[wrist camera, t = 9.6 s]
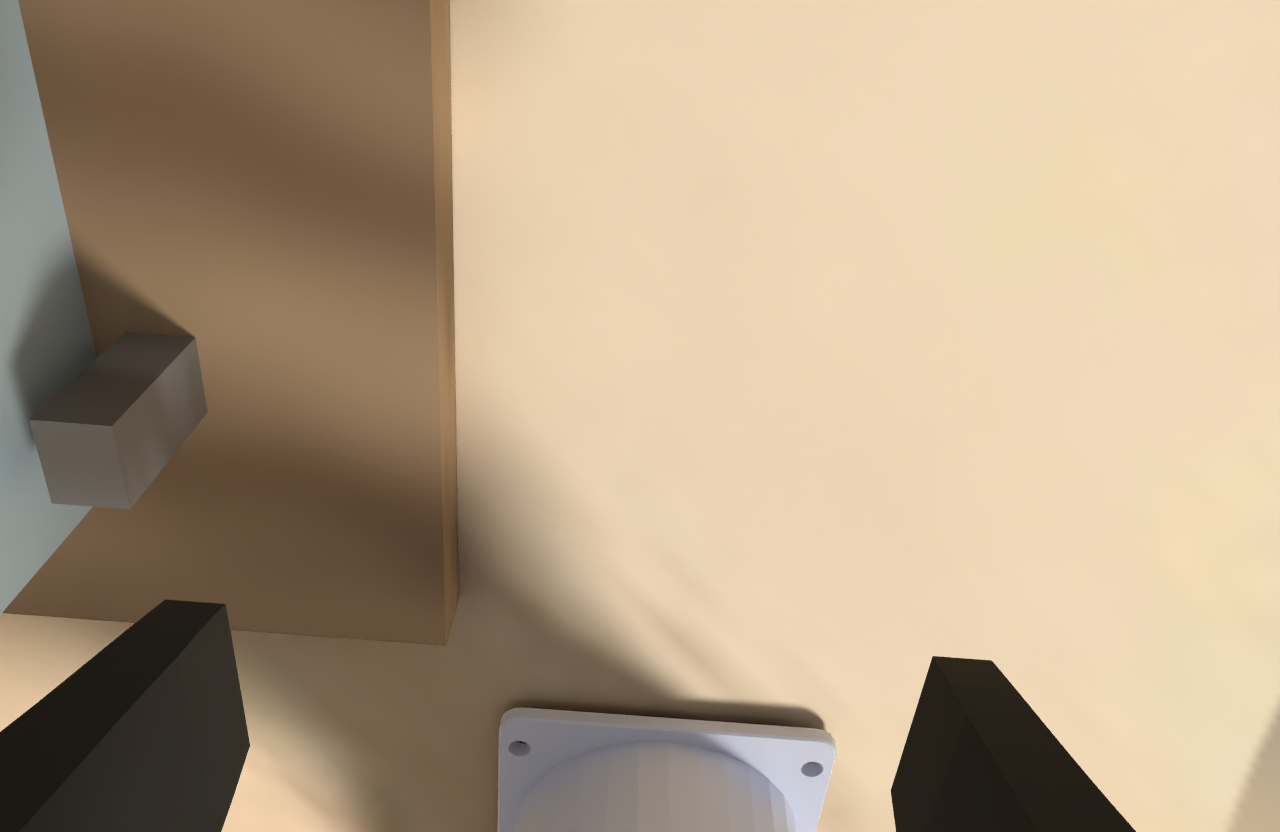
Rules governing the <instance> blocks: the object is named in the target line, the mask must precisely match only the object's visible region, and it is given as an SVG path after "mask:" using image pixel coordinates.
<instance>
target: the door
mask: <svg viewBox="0 0 1280 832" xmlns="http://www.w3.org/2000/svg"><path fill="white" fill-rule="evenodd" d="M96 358H97V356H96V351H95V347H94V342H93V338H92V333H91V328H90V324H89V319H88V315H87V310H86V306H85V301H84V297H83V292H82V288H81V283H80V279H79V274H78V270H77V265H76V260H75V256H74V251H73V247H72V242H71V238H70V233H69V229H68V224H67V220H66V215H65V211H64V206H63V202H62V197H61V192H60V188H59V183H58V179H57V174H56V170H55V165H54V161H53V156H52V152H51V147H50V143H49V138H48V134H47V129H46V124H45V120H44V115H43V111H42V106H41V102H40V97H39V93H38V88H37V84H36V79H35V75H34V70H33V66H32V61H31V57H30V52H29V47H28V43H27V38H26V34H25V29H24V25H23V20H22V16H21V11H20V7H19V2H18V0H0V615H1V613H2V612H3V611H4V610H5V609H6V608H7V606H8V605H9V604H10V603H11V602H12V601H13V599H14V598H15V597H16V596H17V595H18V594H19V592H20V591H21V590H22V589H23V588H24V587H25V585H26V584H27V583H28V582H29V581H30V580H31V578H32V577H33V576H34V575H35V574H36V573H37V571H38V570H39V569H40V568H41V567H42V566H43V564H44V563H45V562H46V561H47V560H48V559H49V557H50V556H51V555H52V554H53V553H54V552H55V550H56V549H57V548H58V547H59V546H60V545H61V543H62V542H63V541H64V540H65V539H66V538H67V536H68V535H69V534H70V533H71V532H72V531H73V529H74V528H75V527H76V526H77V525H78V524H79V523H80V521H81V520H82V519H83V518H84V517H85V516H86V514H87V513H88V512H89V511H90V510H91V509H92V506H79V505H65V504H52V503H51V499H50V496H49V492H48V488H47V485H46V481H45V477H44V473H43V470H42V466H41V462H40V459H39V455H38V451H37V447H36V444H35V440H34V436H33V433H32V429H31V425H30V421H29V419H30V418H32V417H33V416H34V415H35V414H36V413H37V412H38V411H39V410H40V409H41V408H43V407H44V406H45V405H46V404H47V403H48V402H49V401H50V400H51V399H52V398H54V397H55V396H56V395H57V394H58V393H59V392H60V391H61V390H62V389H63V388H64V387H66V386H67V385H68V384H69V383H70V382H71V381H72V380H73V379H74V378H75V377H77V376H78V375H79V374H80V373H81V372H82V371H83V370H84V369H85V368H86V367H88V366H89V365H90V364H91V363H92V362H93V361H94V360H95V359H96Z"/></svg>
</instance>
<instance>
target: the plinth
mask: <svg viewBox="0 0 1280 832" xmlns="http://www.w3.org/2000/svg"><path fill="white" fill-rule="evenodd" d="M18 2H19V7H20V11H21V16H22V20H23V25H24V29H25V34H26V38H27V43H28V47H29V52H30V57H31V61H32V66H33V70H34V75H35V79H36V84H37V88H38V93H39V97H40V102H41V106H42V111H43V115H44V120H45V124H46V129H47V134H48V138H49V143H50V147H51V152H52V156H53V161H54V165H55V170H56V174H57V179H58V183H59V188H60V192H61V197H62V202H63V206H64V211H65V215H66V220H67V224H68V229H69V233H70V238H71V242H72V247H73V251H74V256H75V260H76V265H77V270H78V274H79V279H80V283H81V288H82V292H83V297H84V301H85V306H86V310H87V315H88V319H89V324H90V328H91V333H92V338H93V342H94V347H95V351H96V356H97V358H96V359H95V360H94V361H93V362H92V363H91V364H90V365H89V366H88V367H86V368H85V369H84V370H83V371H82V372H81V373H80V374H79V375H78V376H77V377H75V378H74V379H73V380H72V381H71V382H70V383H69V384H68V385H67V386H66V387H64V388H63V389H62V390H61V391H60V392H59V393H58V394H57V395H56V396H55V397H54V398H52V399H51V400H50V401H49V402H48V403H47V404H46V405H45V406H44V407H43V408H41V409H40V410H39V411H38V412H37V413H36V414H35V415H34V416H33V417H32V418H30V419H29V421H30V425H31V429H32V433H33V436H34V440H35V444H36V447H37V451H38V455H39V459H40V462H41V466H42V470H43V473H44V477H45V481H46V485H47V488H48V492H49V496H50V499H51V503H52V504H65V505H79V506H92V509H91V510H90V511H89V512H88V513H87V514H86V516H85V517H84V518H83V519H82V520H81V521H80V523H79V524H78V525H77V526H76V527H75V528H74V529H73V531H72V532H71V533H70V534H69V535H68V536H67V538H66V539H65V540H64V541H63V542H62V543H61V545H60V546H59V547H58V548H57V549H56V550H55V552H54V553H53V554H52V555H51V556H50V557H49V559H48V560H47V561H46V562H45V563H44V564H43V566H42V567H41V568H40V569H39V570H38V571H37V573H36V574H35V575H34V576H33V577H32V578H31V580H30V581H29V582H28V583H27V584H26V585H25V587H24V588H23V589H22V590H21V591H20V592H19V594H18V595H17V596H16V597H15V598H14V599H13V601H12V602H11V603H10V604H9V605H8V606H7V608H6V609H5V610H4V611H3V612H2V613H10V614H24V615H38V616H51V617H65V618H79V619H92V620H106V621H119V622H133V623H136V622H137V621H139V620H140V619H141V618H142V617H144V616H145V615H146V614H147V613H149V612H150V611H151V610H152V609H154V608H155V607H156V606H157V605H159V604H160V603H161V602H163V601H164V600H165V599H166V600H180V601H193V602H207V603H220V604H226V608H227V614H228V620H229V626H230V630H242V631H256V632H269V633H283V634H297V635H310V636H324V637H338V638H351V639H365V640H378V641H392V642H406V643H419V644H433V645H446V643H447V639H448V635H449V632H450V628H451V624H452V621H453V617H454V613H455V609H456V606H457V602H458V598H459V590H458V525H457V460H456V395H455V330H454V265H453V200H452V135H451V70H450V5H449V0H18Z"/></svg>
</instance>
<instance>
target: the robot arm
mask: <svg viewBox="0 0 1280 832" xmlns="http://www.w3.org/2000/svg"><path fill="white" fill-rule="evenodd" d="M515 741H522V742H526V743H518V742H515ZM249 747H250V743H249V737H248V731H247V725H246V719H245V714H244V708H243V702H242V696H241V690H240V684H239V679H238V673H237V667H236V661H235V655H234V649H233V643H232V638H231V632H230V626H229V620H228V614H227V608H226V604H220V603H207V602H193V601H180V600H166V599H165V600H164V601H163V602H161V603H160V604H159V605H157V606H156V607H155V608H154V609H152V610H151V611H150V612H149V613H147V614H146V615H145V616H144V617H142V618H141V619H140V620H139V621H137V622H136V623H135V624H134V625H132V626H131V627H130V628H129V629H127V630H126V631H125V632H124V633H122V634H121V635H120V636H119V637H117V638H116V639H115V640H114V641H113V642H111V643H110V644H109V645H108V646H106V647H105V648H104V649H103V650H102V651H100V652H99V653H98V654H97V655H95V656H94V657H93V658H92V659H91V660H89V661H88V662H87V663H86V664H84V665H83V666H82V667H81V668H80V669H78V670H77V671H76V672H75V673H73V674H72V675H71V676H70V677H68V678H67V679H66V680H65V681H64V682H62V683H61V684H60V685H59V686H57V687H56V688H55V689H54V690H52V691H51V692H50V693H49V694H48V695H46V696H45V697H44V698H43V699H41V700H40V701H39V702H38V703H36V704H35V705H34V706H33V707H31V708H30V709H29V710H28V711H26V712H25V713H24V714H23V715H21V716H20V717H19V718H17V719H16V720H15V721H14V722H12V723H11V724H10V725H9V726H7V727H6V728H5V729H3V730H2V731H1V732H0V832H221V830H222V828H223V825H224V822H225V819H226V816H227V813H228V810H229V808H230V805H231V802H232V799H233V796H234V793H235V790H236V787H237V784H238V781H239V778H240V774H241V771H242V768H243V765H244V762H245V759H246V756H247V753H248V750H249ZM835 758H836V746H835V741H834V738H833V737H832V735H831V734H830V733H828V732H827V731H825V730H821V729H815V728H802V727H788V726H774V725H760V724H746V723H732V722H718V721H704V720H690V719H676V718H663V717H649V716H635V715H621V714H607V713H593V712H579V711H565V710H551V709H537V708H524V707H521V708H513V709H510V710H508V711H506V712H505V713H504V714H503V715H502V718H501V722H500V727H499V756H498V832H816V830H817V826H818V822H819V819H820V815H821V811H822V807H823V803H824V800H825V796H826V792H827V788H828V784H829V781H830V777H831V773H832V769H833V765H834V762H835ZM808 762H815V763H809V764H808ZM891 796H892V803H893V811H894V818H895V826H896V832H1136V831H1135V830H1134V829H1133V828H1132V827H1131V825H1130V824H1129V823H1128V822H1127V821H1126V820H1125V819H1124V817H1123V816H1122V815H1121V814H1120V813H1119V812H1118V811H1117V809H1116V808H1115V807H1114V806H1113V805H1112V804H1111V803H1110V801H1109V800H1108V799H1107V798H1106V797H1105V796H1104V794H1103V793H1102V792H1101V791H1100V790H1099V789H1098V787H1097V786H1096V785H1095V784H1094V783H1093V782H1092V780H1091V779H1090V778H1089V777H1088V776H1087V775H1086V773H1085V772H1084V771H1083V770H1082V769H1081V767H1080V766H1079V765H1078V764H1077V763H1076V761H1075V760H1074V759H1073V758H1072V757H1071V755H1070V754H1069V753H1068V752H1067V751H1066V750H1065V748H1064V747H1063V746H1062V745H1061V744H1060V742H1059V741H1058V740H1057V739H1056V738H1055V736H1054V735H1053V734H1052V733H1051V731H1050V730H1049V729H1048V728H1047V727H1046V725H1045V724H1044V723H1043V722H1042V721H1041V719H1040V718H1039V717H1038V716H1037V714H1036V713H1035V712H1034V711H1033V710H1032V708H1031V707H1030V706H1029V705H1028V704H1027V702H1026V701H1025V700H1024V699H1023V698H1022V696H1021V695H1020V694H1019V693H1018V691H1017V690H1016V689H1015V688H1014V687H1013V685H1012V684H1011V683H1010V682H1009V681H1008V679H1007V678H1006V677H1005V676H1004V675H1003V673H1002V672H1001V671H1000V670H999V669H998V667H997V666H996V665H995V664H994V663H993V662H992V661H990V660H976V659H963V658H949V657H936V656H933V657H932V660H931V664H930V667H929V670H928V673H927V676H926V680H925V683H924V686H923V689H922V692H921V696H920V699H919V702H918V705H917V708H916V712H915V715H914V718H913V721H912V724H911V728H910V731H909V734H908V737H907V740H906V744H905V747H904V750H903V753H902V756H901V760H900V763H899V766H898V769H897V772H896V776H895V779H894V782H893V785H892V788H891Z"/></svg>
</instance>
